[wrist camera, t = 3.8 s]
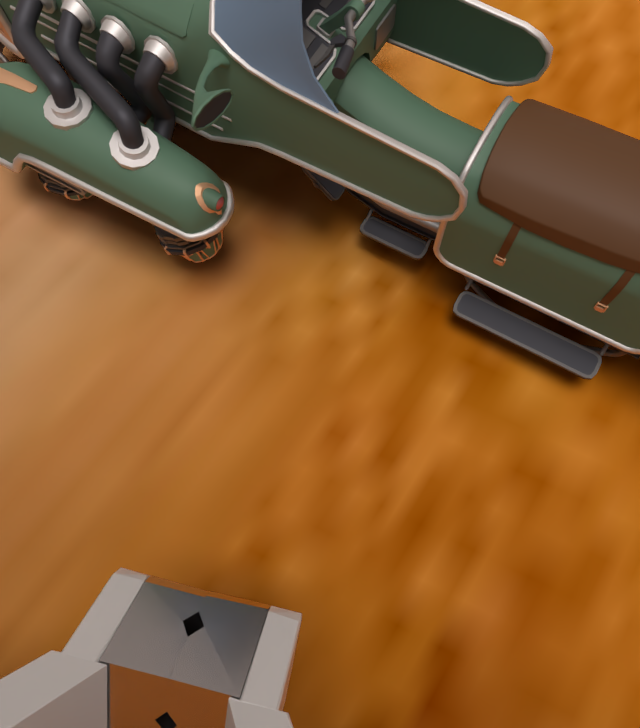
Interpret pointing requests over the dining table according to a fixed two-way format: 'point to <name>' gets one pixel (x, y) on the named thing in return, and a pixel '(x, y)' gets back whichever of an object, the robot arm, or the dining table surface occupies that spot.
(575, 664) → the dining table surface
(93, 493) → the dining table surface
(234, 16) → the hoverbike
